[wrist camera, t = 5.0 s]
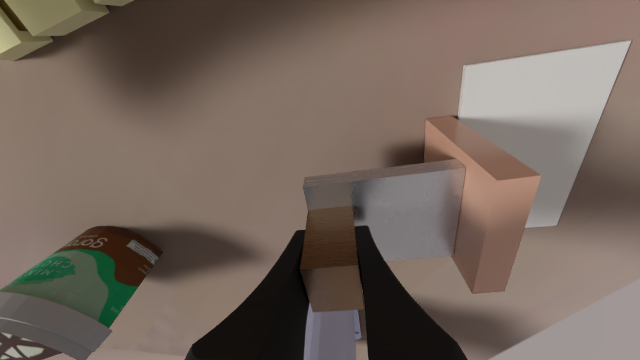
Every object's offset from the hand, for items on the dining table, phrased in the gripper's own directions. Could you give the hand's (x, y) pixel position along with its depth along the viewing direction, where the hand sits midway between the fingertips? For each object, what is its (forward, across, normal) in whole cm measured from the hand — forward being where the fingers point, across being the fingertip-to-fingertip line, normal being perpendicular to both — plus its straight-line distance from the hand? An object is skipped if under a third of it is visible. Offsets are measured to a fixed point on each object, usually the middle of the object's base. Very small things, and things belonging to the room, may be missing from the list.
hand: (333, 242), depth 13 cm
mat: (+7, -13, 0) cm, 15 cm away
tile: (+7, -7, 0) cm, 10 cm away
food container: (+7, +24, +5) cm, 25 cm away
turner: (+2, -3, 0) cm, 4 cm away
